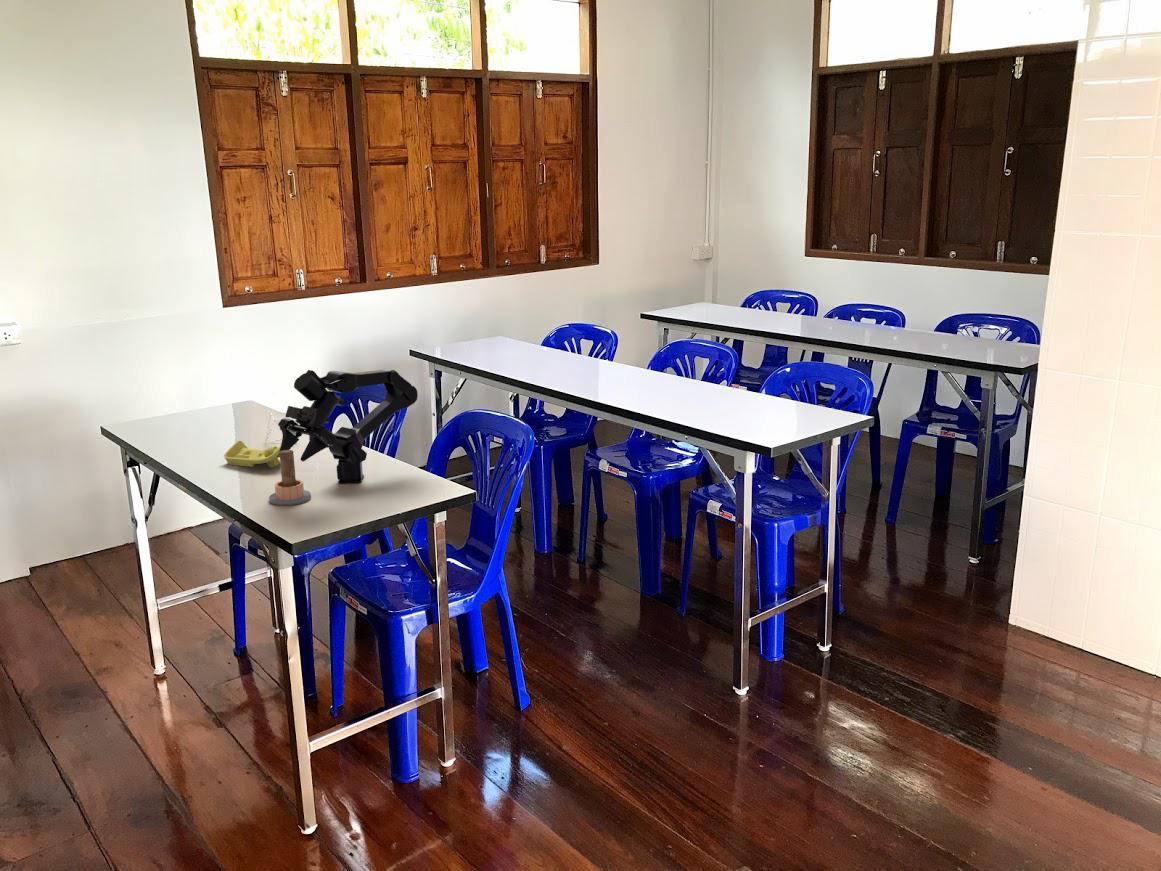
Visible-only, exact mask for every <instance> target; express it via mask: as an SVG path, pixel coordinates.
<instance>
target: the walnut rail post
mask: <svg viewBox="0 0 1161 871" xmlns="http://www.w3.org/2000/svg"><path fill="white" fill-rule="evenodd" d="M279 454H280V457H279V464H280V476H281V481H282V487H291V486H296V480H297V479H296V469H295V468H296V467H295V458H294V456H295V455H294V450H293V449H289V450H282V451H280V452H279Z"/></svg>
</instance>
